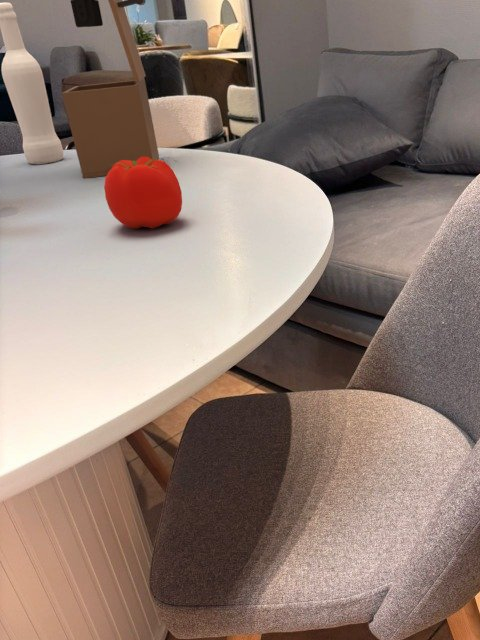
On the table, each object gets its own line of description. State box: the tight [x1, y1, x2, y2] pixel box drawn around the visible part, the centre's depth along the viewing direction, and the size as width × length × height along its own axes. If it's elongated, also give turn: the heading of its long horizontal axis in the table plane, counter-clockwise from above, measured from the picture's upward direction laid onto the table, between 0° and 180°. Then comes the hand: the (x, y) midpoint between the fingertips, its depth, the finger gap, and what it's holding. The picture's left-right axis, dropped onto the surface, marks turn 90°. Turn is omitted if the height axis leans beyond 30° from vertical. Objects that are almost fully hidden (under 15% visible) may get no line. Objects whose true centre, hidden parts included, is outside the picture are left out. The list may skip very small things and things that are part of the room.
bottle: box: [0, 2, 64, 165], centre depth 134 cm, size 8×8×30 cm
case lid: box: [108, 0, 147, 83], centre depth 116 cm, size 14×14×5 cm
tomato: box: [103, 157, 183, 229], centre depth 87 cm, size 11×11×9 cm
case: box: [61, 78, 160, 179], centre depth 124 cm, size 14×14×15 cm
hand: (90, 26), depth 115 cm, fingers open, 9 cm apart
